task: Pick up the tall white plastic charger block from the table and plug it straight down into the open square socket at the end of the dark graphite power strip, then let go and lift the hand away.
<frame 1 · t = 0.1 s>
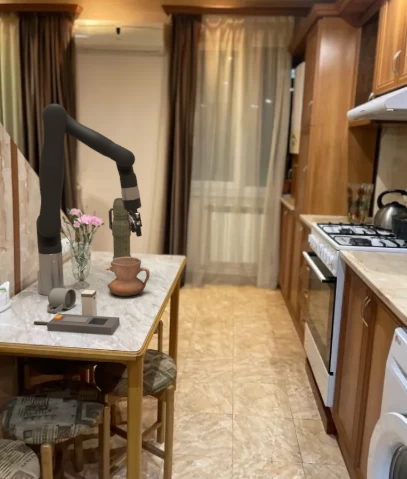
hand: (136, 234, 201), 22 cm above the table, tool pointing down, fingers open, 8 cm apart
power strip: (84, 327, 158), on the table
ceramic jug: (128, 293, 193), on the table
ceramic mug: (60, 309, 174), on the table
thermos: (122, 270, 225), on the table
charger: (89, 315, 168), on the table
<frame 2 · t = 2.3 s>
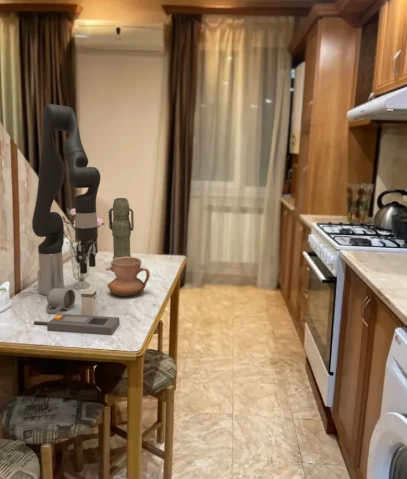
hand: (88, 269, 165), 17 cm above the table, tool pointing down, fingers open, 8 cm apart
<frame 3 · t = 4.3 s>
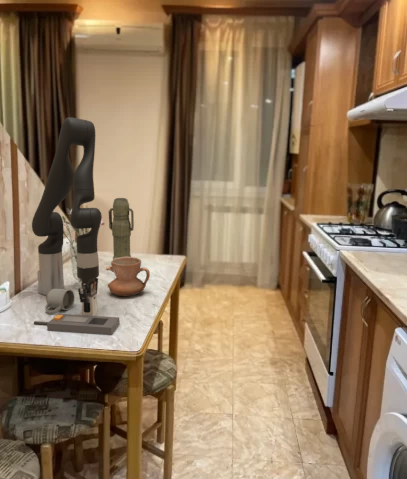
hand: (89, 309, 168), 2 cm above the table, tool pointing down, fingers closed on charger, 4 cm apart
charger: (89, 315, 168), on the table, touching gripper
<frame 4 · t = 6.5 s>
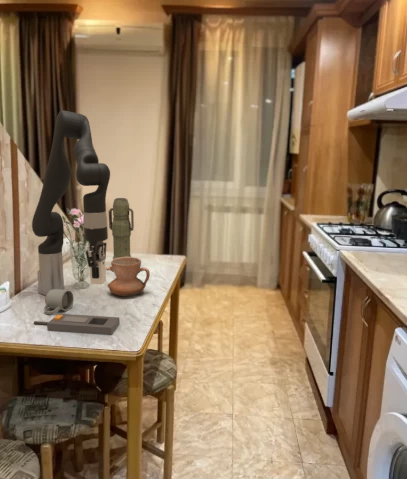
hand: (97, 276, 154), 18 cm above the table, tool pointing down, fingers closed on charger, 4 cm apart
charger: (98, 282, 155), point 16 cm above the table, touching gripper
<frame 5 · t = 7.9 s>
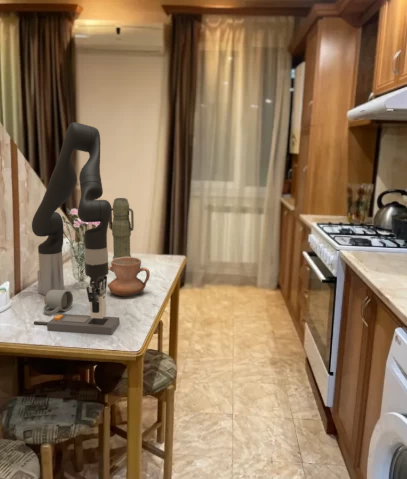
hand: (98, 309, 156), 7 cm above the table, tool pointing down, fingers closed on charger, 4 cm apart
charger: (98, 316, 156), point 4 cm above the table, touching gripper
when the fingers open (4 cm above the table, at t = 8.8 s): charger drops 1 cm, resting in power strip.
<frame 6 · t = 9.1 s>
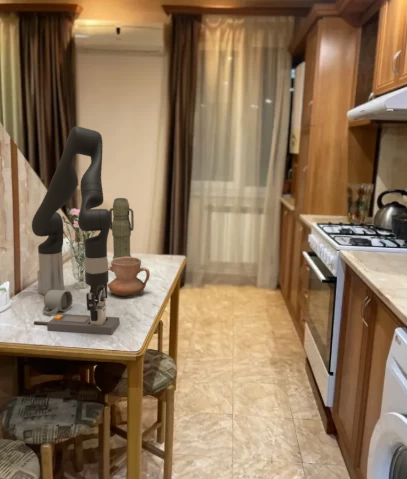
hand: (98, 316, 156), 4 cm above the table, tool pointing down, fingers open, 6 cm apart
charger: (98, 328, 157), resting in power strip
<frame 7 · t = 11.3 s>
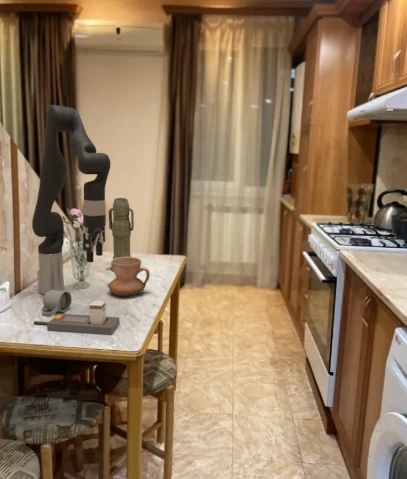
hand: (94, 258, 161), 22 cm above the table, tool pointing down, fingers open, 8 cm apart
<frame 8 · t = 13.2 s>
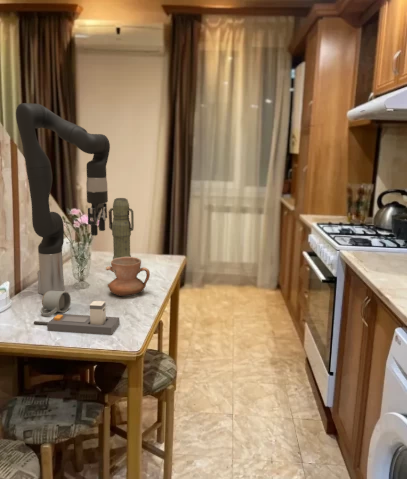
hand: (98, 232, 174), 28 cm above the table, tool pointing down, fingers open, 8 cm apart
at the end: charger 0.1 cm from the target spot on the power strip, point 0.0 cm above the power strip's base; charger tilted 0°; the gripper is holding nothing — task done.
